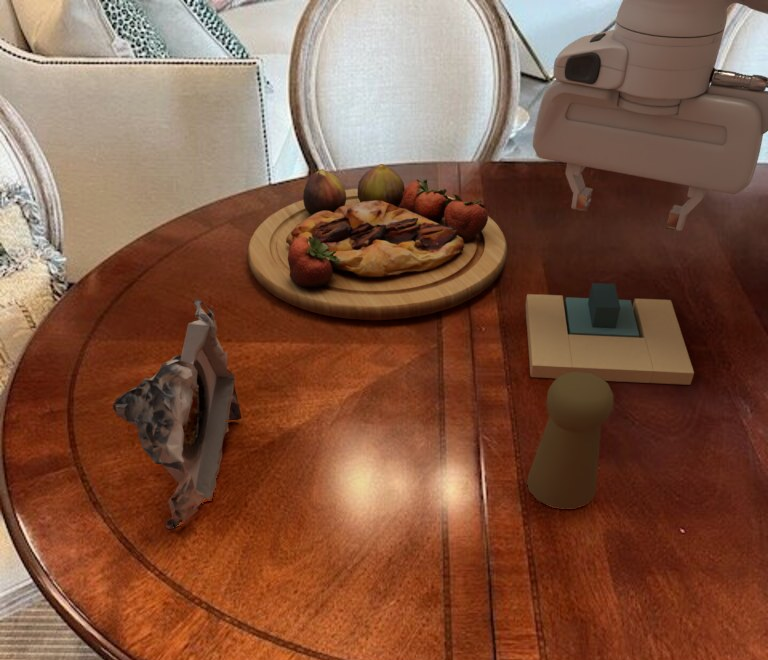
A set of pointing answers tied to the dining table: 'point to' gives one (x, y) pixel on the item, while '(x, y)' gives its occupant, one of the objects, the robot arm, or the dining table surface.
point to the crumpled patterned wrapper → (186, 415)
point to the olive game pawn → (571, 441)
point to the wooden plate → (377, 248)
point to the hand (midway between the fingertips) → (626, 217)
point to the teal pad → (584, 324)
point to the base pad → (608, 345)
